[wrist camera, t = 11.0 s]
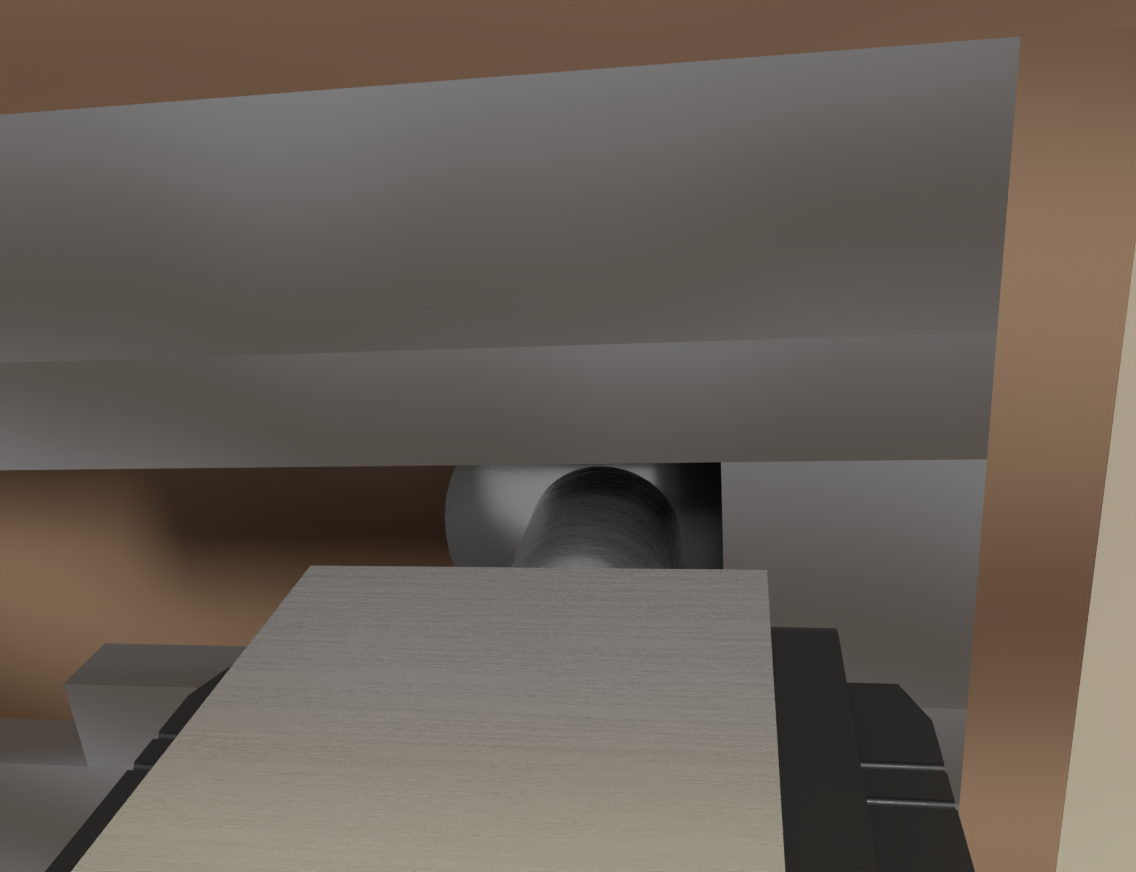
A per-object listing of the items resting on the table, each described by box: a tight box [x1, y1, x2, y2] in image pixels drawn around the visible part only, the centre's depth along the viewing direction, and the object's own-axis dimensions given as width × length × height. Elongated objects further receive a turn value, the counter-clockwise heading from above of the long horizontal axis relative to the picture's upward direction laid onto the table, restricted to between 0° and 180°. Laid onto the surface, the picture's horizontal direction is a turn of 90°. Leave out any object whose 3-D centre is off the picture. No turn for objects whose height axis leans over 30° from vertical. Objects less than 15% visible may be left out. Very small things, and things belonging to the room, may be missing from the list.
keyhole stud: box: [71, 462, 785, 872], centre depth 10 cm, size 4×4×10 cm
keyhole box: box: [0, 0, 1136, 872], centre depth 15 cm, size 14×22×4 cm, turn 94°
